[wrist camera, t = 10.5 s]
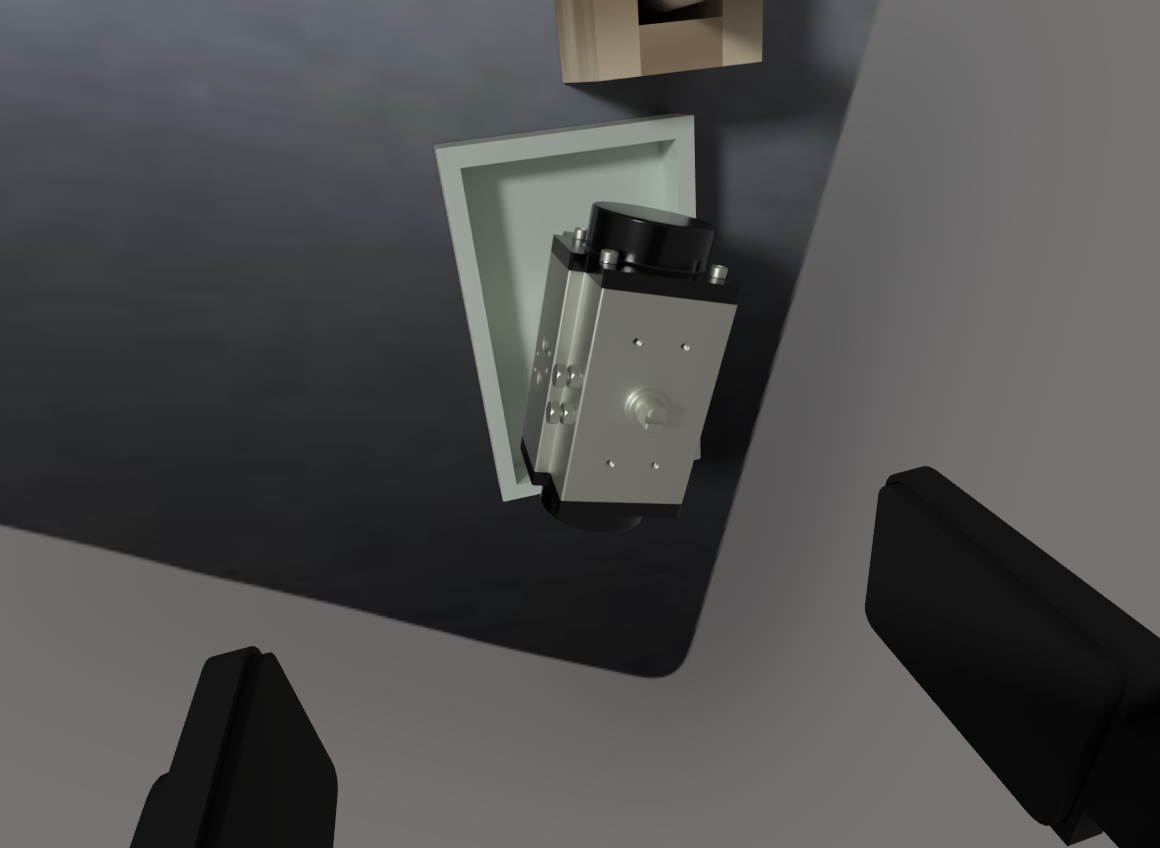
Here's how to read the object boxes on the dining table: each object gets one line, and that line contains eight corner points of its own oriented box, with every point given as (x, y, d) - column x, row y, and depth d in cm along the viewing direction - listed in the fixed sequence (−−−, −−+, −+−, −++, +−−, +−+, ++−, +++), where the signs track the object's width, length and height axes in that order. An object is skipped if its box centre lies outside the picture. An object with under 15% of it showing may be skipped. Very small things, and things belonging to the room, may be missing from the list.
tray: (433, 144, 28) (435, 149, 25) (672, 113, 29) (693, 115, 27) (497, 476, 35) (503, 501, 33) (683, 436, 37) (700, 458, 35)
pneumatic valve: (646, 194, 30) (774, 249, 19) (598, 424, 35) (680, 567, 24) (526, 173, 28) (597, 222, 18) (494, 417, 33) (534, 568, 23)
